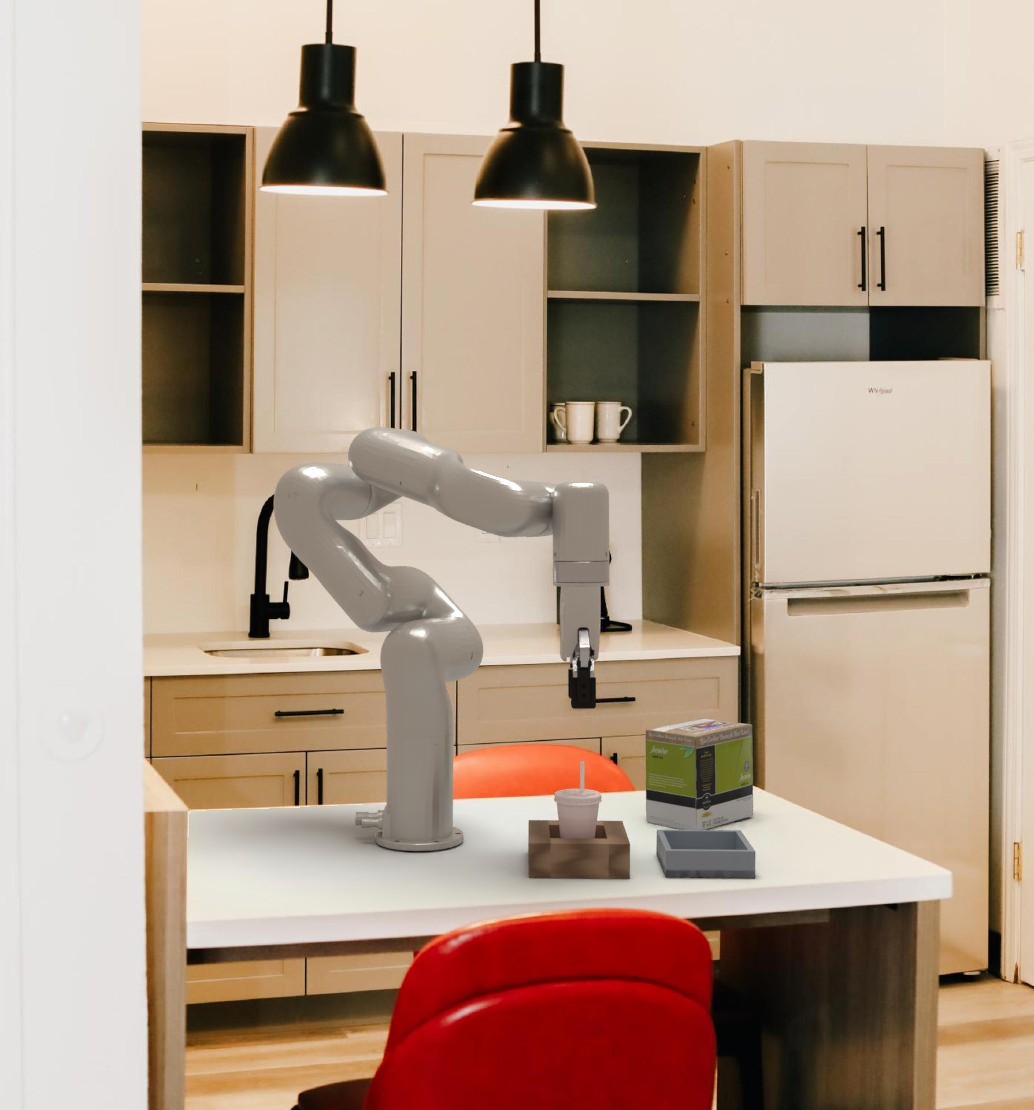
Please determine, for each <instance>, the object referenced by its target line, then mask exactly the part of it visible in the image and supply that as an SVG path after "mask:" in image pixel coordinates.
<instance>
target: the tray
mask: <svg viewBox="0 0 1034 1110" xmlns="http://www.w3.org/2000/svg"><path fill="white" fill-rule="evenodd" d="M655 848H656V851H655V852H656V857H657V860H658V862H659V865H660V867H661V869H662V872H663V874H664V876H665V878H671V877H710V878H709V879H755V878H756V850H755V849H754V847H753V845H752V844H751V843H750V841H749V840H748V838H747V837H746V836H745V835H744V833H743V832H742V830H741V829H705V830H680V829H656V847H655ZM714 877H716V878H714ZM719 877H721V878H719Z"/></svg>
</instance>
